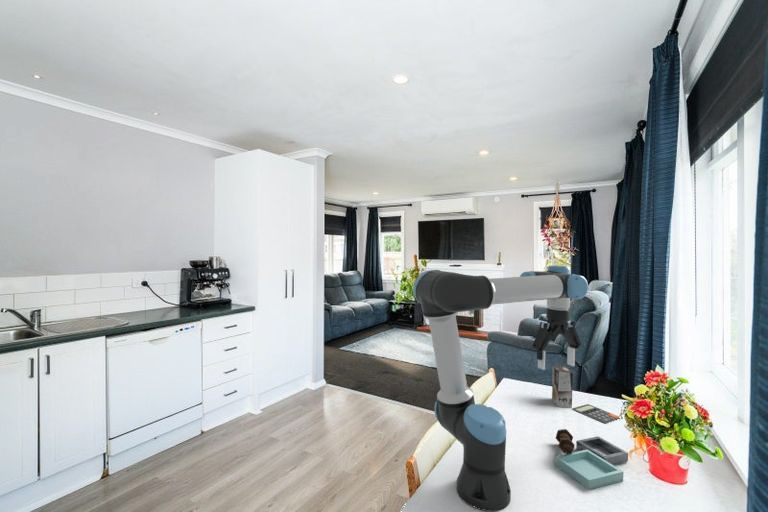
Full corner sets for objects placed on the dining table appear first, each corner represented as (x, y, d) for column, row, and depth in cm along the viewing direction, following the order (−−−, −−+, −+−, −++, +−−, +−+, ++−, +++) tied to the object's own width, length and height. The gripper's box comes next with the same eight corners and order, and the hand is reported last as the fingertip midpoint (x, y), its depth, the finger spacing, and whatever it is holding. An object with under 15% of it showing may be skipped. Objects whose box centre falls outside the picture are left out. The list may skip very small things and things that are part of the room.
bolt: (578, 444, 118) (573, 432, 132) (562, 437, 120) (558, 425, 134) (573, 462, 118) (569, 447, 132) (557, 454, 120) (554, 441, 134)
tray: (589, 489, 108) (589, 480, 108) (554, 464, 120) (555, 456, 120) (623, 480, 112) (623, 471, 112) (587, 457, 124) (587, 449, 124)
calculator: (605, 422, 149) (571, 408, 162) (605, 424, 149) (571, 410, 162) (621, 417, 155) (588, 403, 168) (621, 419, 155) (588, 405, 168)
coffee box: (572, 408, 164) (573, 372, 163) (557, 406, 165) (558, 371, 164) (565, 399, 173) (566, 366, 172) (551, 398, 174) (552, 365, 174)
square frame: (605, 467, 119) (605, 458, 119) (576, 449, 130) (576, 440, 130) (627, 461, 122) (628, 452, 122) (597, 444, 133) (598, 436, 133)
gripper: (575, 305, 138) (574, 360, 139) (522, 308, 130) (521, 366, 131) (593, 308, 131) (591, 367, 132) (537, 311, 123) (536, 373, 124)
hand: (556, 367), depth 131 cm, fingers open, 13 cm apart
